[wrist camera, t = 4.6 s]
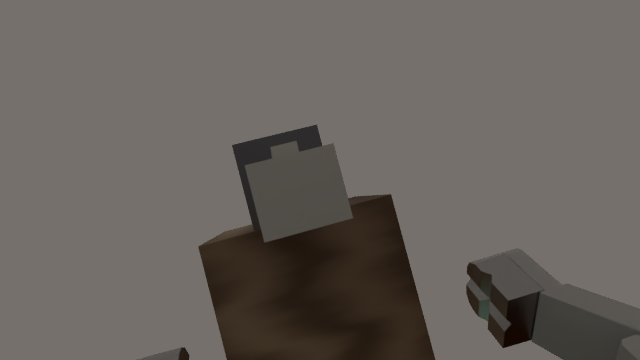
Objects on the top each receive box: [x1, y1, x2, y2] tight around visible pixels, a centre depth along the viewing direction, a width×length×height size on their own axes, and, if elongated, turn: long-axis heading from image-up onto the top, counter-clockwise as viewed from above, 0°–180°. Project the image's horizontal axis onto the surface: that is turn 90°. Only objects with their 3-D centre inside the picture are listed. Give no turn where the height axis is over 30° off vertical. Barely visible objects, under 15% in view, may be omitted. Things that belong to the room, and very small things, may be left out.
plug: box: [232, 125, 353, 243], centre depth 23 cm, size 6×18×6 cm, turn 7°
